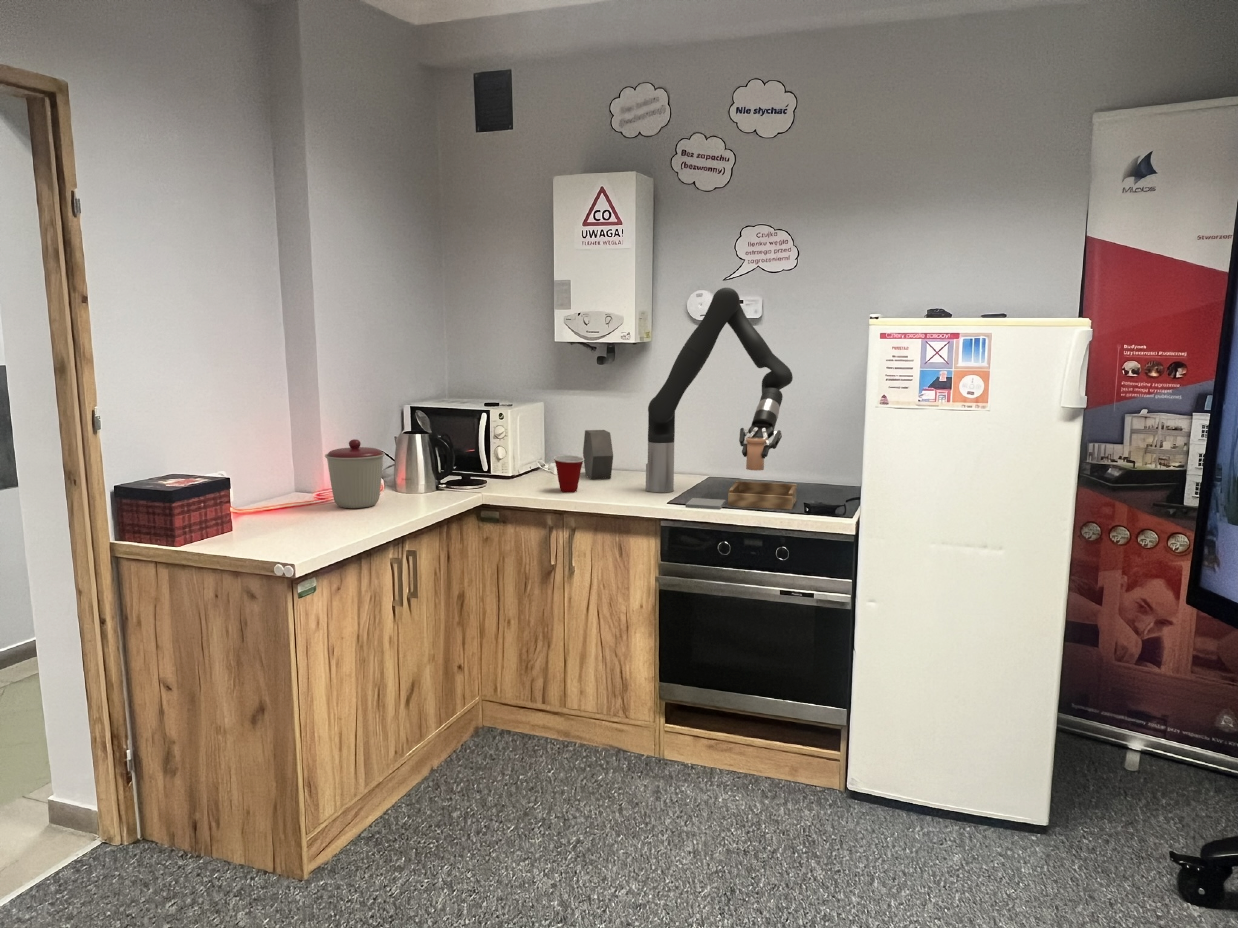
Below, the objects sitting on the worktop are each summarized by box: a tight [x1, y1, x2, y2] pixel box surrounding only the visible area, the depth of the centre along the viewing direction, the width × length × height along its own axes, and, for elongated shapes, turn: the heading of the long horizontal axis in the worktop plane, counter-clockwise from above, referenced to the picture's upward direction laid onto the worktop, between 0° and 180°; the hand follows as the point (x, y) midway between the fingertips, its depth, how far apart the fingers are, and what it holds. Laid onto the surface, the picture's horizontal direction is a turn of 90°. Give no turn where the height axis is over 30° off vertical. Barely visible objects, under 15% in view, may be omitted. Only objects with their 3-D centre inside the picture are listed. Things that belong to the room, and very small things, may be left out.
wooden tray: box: [727, 480, 797, 510], centre depth 283 cm, size 20×16×6 cm
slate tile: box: [685, 497, 727, 510], centre depth 280 cm, size 11×11×1 cm
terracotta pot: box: [745, 436, 766, 471], centre depth 280 cm, size 6×6×10 cm
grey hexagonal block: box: [582, 429, 614, 480], centre depth 333 cm, size 17×8×21 cm
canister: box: [324, 438, 386, 509], centre depth 274 cm, size 18×18×21 cm
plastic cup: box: [553, 454, 585, 493], centre depth 302 cm, size 11×11×12 cm
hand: (753, 456), depth 279 cm, fingers closed on terracotta pot, 5 cm apart
